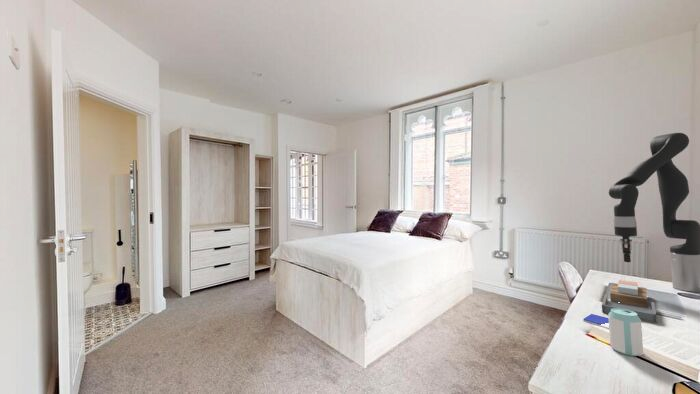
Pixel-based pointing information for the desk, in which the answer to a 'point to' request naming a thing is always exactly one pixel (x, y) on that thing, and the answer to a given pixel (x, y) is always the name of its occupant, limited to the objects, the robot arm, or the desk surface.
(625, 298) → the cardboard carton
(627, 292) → the tile
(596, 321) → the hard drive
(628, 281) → the tile
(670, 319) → the desk surface
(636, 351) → the can
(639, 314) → the box
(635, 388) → the desk surface
